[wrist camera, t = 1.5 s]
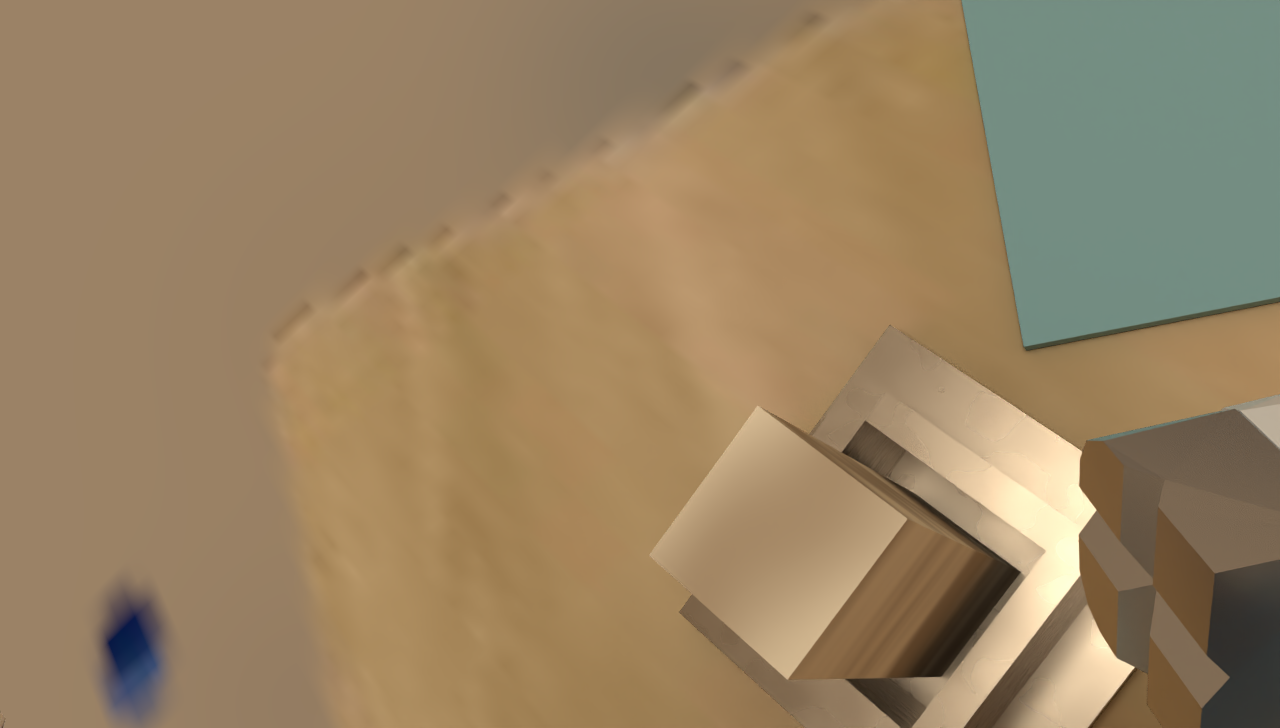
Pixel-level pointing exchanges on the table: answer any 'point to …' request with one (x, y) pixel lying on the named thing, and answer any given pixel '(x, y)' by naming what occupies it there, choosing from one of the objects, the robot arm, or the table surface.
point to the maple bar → (829, 561)
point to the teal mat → (1132, 157)
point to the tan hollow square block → (997, 517)
